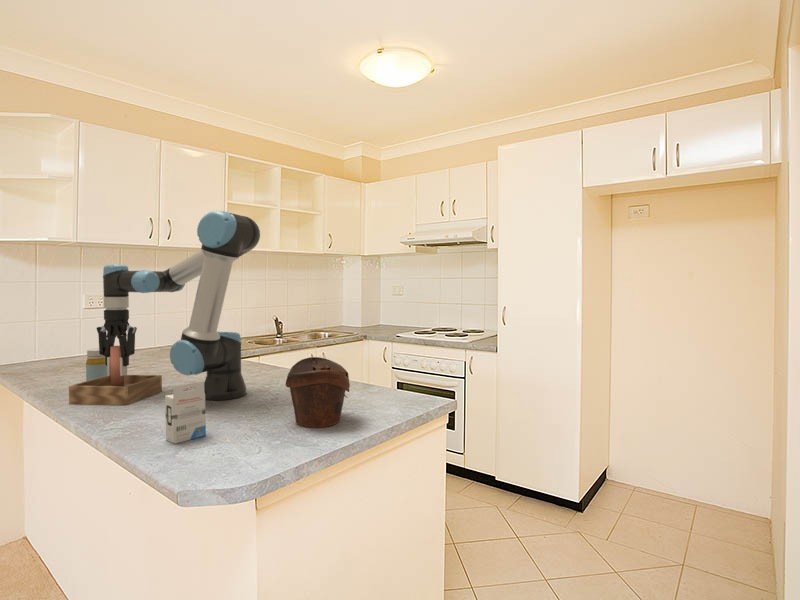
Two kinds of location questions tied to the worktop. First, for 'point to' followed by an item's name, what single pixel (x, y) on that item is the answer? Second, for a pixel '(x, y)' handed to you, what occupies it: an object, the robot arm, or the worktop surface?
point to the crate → (115, 390)
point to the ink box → (185, 413)
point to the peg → (115, 366)
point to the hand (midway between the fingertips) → (117, 374)
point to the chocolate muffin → (317, 391)
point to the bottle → (95, 365)
